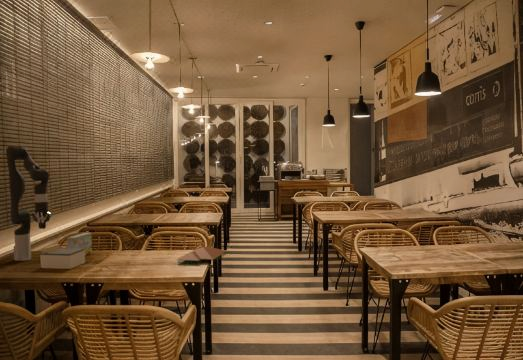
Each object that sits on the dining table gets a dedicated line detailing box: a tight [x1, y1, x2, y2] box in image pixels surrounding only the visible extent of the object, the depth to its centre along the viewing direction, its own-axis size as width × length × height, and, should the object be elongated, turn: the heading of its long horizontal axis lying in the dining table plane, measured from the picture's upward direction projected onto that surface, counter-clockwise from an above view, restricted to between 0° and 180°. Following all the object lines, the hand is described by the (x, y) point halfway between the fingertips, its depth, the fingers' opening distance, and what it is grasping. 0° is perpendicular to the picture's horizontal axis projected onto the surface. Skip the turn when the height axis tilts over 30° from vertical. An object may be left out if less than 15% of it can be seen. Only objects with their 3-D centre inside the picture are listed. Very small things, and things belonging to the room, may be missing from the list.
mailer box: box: [39, 250, 86, 270], centre depth 291 cm, size 20×16×8 cm
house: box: [175, 246, 227, 265], centre depth 301 cm, size 23×33×8 cm
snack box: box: [66, 232, 93, 257], centre depth 315 cm, size 21×6×15 cm, turn 168°
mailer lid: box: [39, 243, 85, 255], centre depth 290 cm, size 20×16×4 cm
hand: (42, 228), depth 292 cm, fingers closed
